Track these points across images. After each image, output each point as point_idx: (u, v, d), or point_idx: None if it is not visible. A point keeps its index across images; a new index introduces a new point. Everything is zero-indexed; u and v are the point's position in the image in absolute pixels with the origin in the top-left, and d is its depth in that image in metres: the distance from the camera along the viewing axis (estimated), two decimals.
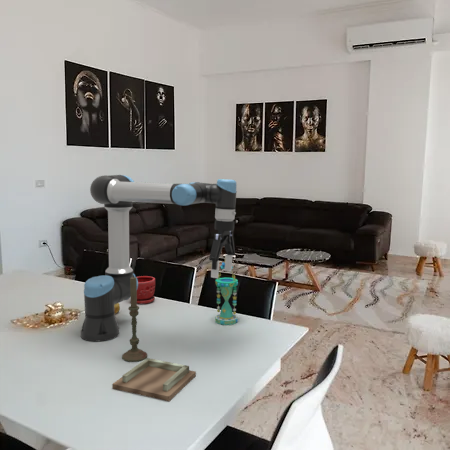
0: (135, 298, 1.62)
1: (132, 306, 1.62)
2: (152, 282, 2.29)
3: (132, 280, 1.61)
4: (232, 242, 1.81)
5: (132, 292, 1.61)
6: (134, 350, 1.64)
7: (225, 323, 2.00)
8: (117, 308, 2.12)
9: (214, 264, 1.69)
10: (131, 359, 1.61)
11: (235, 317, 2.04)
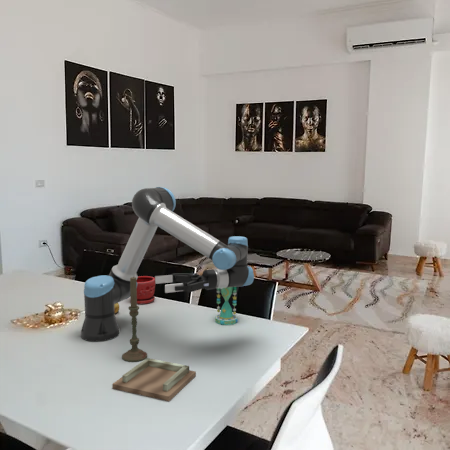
0: (135, 298, 1.62)
1: (132, 306, 1.62)
2: (152, 282, 2.29)
3: (132, 280, 1.61)
4: None
5: (132, 292, 1.61)
6: (134, 350, 1.64)
7: (225, 323, 2.00)
8: (116, 308, 2.12)
9: (180, 288, 1.60)
10: (131, 359, 1.61)
11: (235, 317, 2.04)
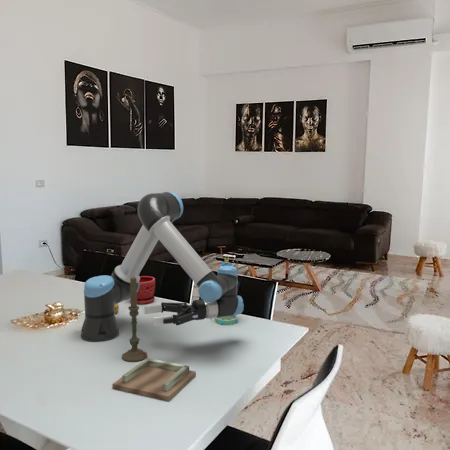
0: (135, 298, 1.62)
1: (132, 306, 1.62)
2: (152, 282, 2.29)
3: (132, 280, 1.61)
4: None
5: (132, 292, 1.61)
6: (134, 350, 1.64)
7: (225, 323, 2.00)
8: (116, 308, 2.12)
9: (169, 321, 1.60)
10: (131, 359, 1.61)
11: (235, 317, 2.04)
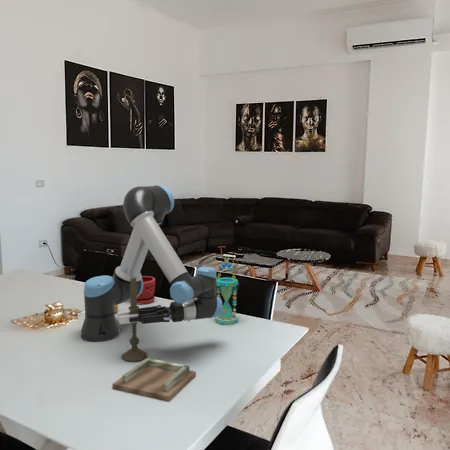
0: (135, 298, 1.62)
1: (132, 306, 1.62)
2: (152, 282, 2.29)
3: (132, 280, 1.61)
4: None
5: (132, 292, 1.61)
6: (134, 350, 1.64)
7: (225, 323, 2.00)
8: (115, 308, 2.12)
9: (135, 320, 1.60)
10: (131, 359, 1.61)
11: (235, 317, 2.04)
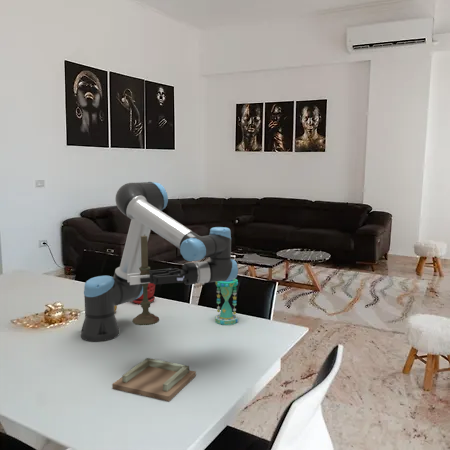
0: (146, 258, 1.52)
1: (143, 266, 1.52)
2: None
3: (143, 238, 1.51)
4: None
5: (143, 251, 1.52)
6: (145, 314, 1.54)
7: (225, 323, 2.00)
8: None
9: (146, 280, 1.51)
10: (142, 322, 1.52)
11: (235, 317, 2.04)
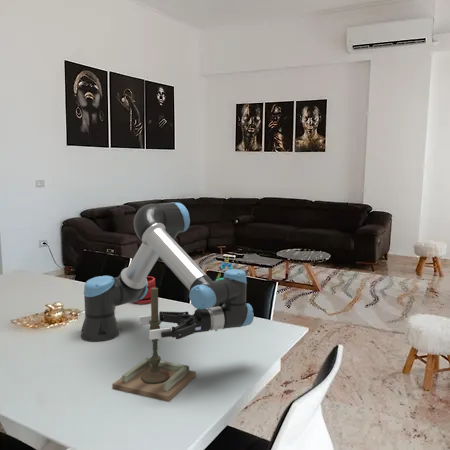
0: (156, 311, 1.43)
1: (153, 320, 1.43)
2: (152, 282, 2.29)
3: (153, 291, 1.42)
4: None
5: (153, 304, 1.42)
6: (155, 370, 1.44)
7: None
8: None
9: (167, 334, 1.37)
10: (152, 381, 1.42)
11: None
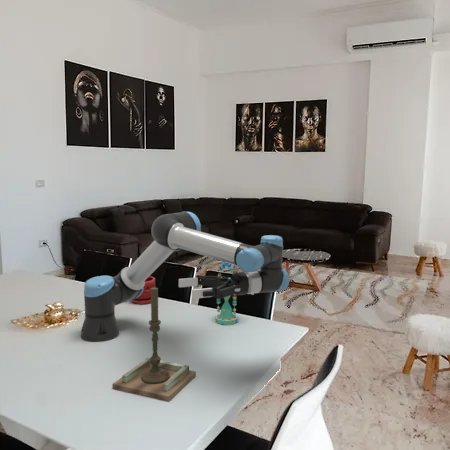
0: (156, 311, 1.43)
1: (153, 320, 1.43)
2: (152, 282, 2.29)
3: (153, 291, 1.42)
4: None
5: (153, 304, 1.42)
6: (155, 370, 1.44)
7: (225, 323, 2.00)
8: None
9: (209, 294, 1.41)
10: (152, 381, 1.42)
11: (235, 317, 2.04)
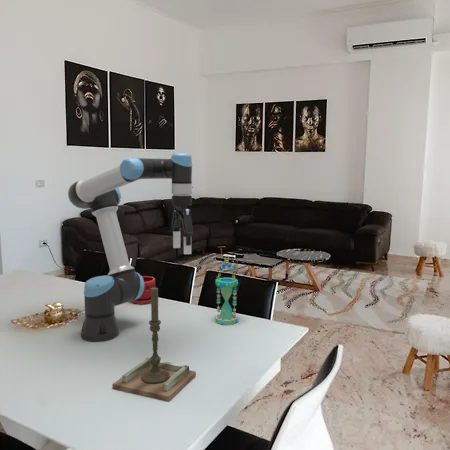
0: (156, 311, 1.43)
1: (153, 320, 1.43)
2: (152, 282, 2.29)
3: (153, 291, 1.42)
4: None
5: (153, 304, 1.42)
6: (155, 370, 1.44)
7: (225, 323, 2.00)
8: None
9: (189, 240, 1.66)
10: (152, 381, 1.42)
11: (235, 317, 2.04)
